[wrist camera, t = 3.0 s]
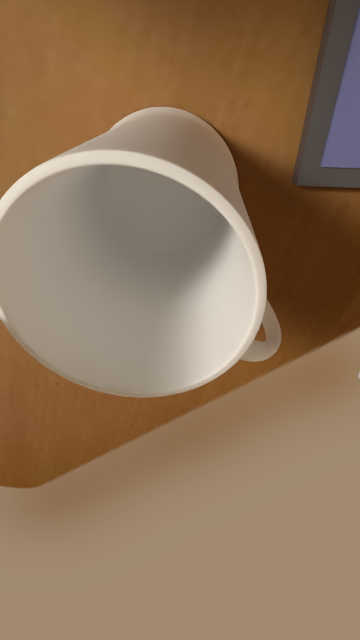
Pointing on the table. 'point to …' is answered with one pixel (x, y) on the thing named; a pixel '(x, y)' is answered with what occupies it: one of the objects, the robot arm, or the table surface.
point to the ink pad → (334, 105)
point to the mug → (136, 260)
